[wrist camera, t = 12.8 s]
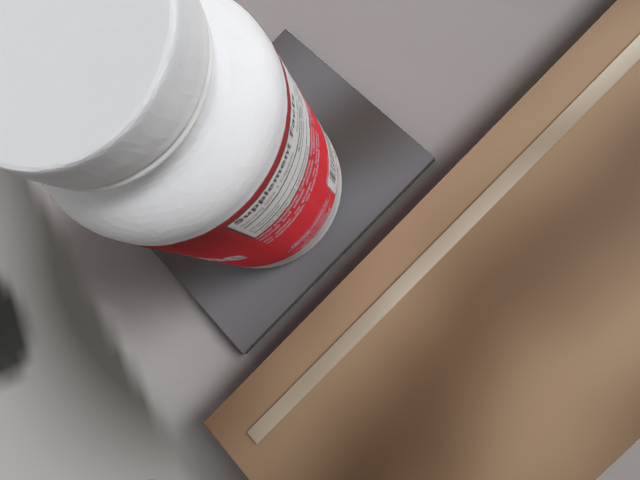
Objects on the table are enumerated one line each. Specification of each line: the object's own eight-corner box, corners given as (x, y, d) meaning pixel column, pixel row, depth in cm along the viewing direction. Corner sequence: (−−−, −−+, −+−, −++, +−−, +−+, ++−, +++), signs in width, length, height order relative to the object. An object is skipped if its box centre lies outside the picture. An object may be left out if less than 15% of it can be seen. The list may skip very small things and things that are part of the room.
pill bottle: (163, 211, 19) (-163, 94, 9) (252, 85, 19) (30, -188, 9) (281, 304, 18) (58, 299, 7) (379, 168, 18) (299, -44, 7)
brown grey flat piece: (1074, -17, 14) (1181, -71, 12) (402, 622, 16) (397, 668, 14) (573, -273, 19) (590, -343, 17) (91, 245, 20) (54, 238, 18)
